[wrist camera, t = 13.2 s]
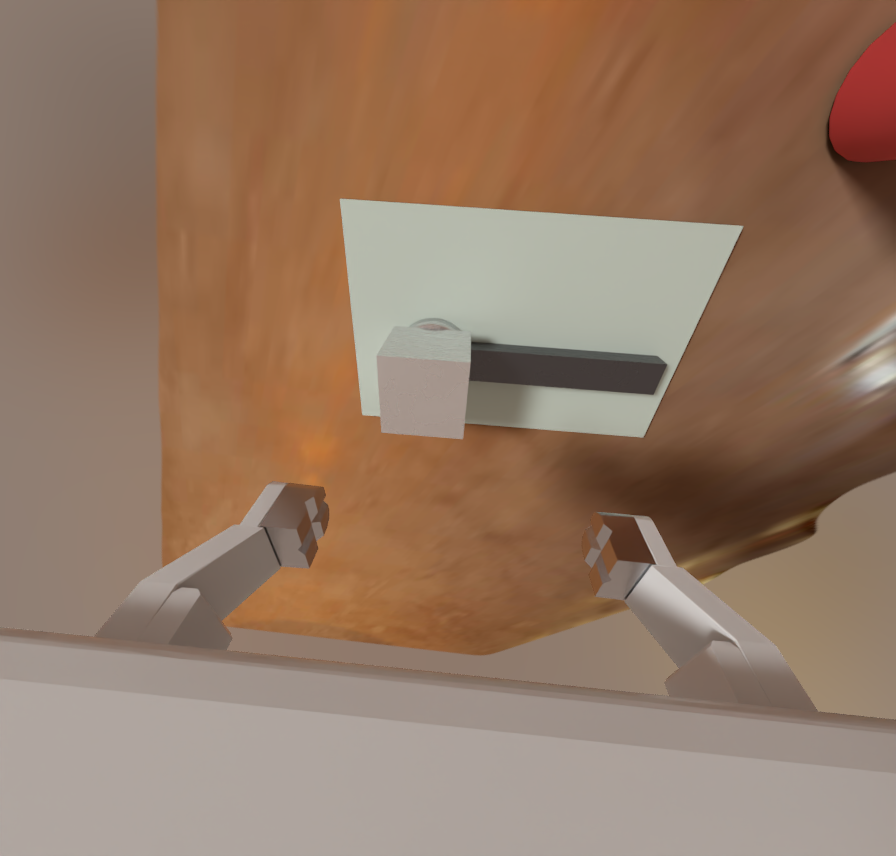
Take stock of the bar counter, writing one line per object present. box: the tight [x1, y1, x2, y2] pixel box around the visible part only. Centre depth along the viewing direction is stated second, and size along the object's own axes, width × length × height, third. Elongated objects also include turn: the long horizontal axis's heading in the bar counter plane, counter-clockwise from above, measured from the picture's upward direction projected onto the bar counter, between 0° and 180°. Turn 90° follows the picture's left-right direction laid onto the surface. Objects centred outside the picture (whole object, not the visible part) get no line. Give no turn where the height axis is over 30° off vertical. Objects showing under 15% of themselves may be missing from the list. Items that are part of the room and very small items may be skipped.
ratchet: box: [409, 318, 667, 395], centre depth 28 cm, size 6×22×5 cm, turn 87°
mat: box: [340, 199, 743, 437], centre depth 29 cm, size 18×28×1 cm, turn 87°
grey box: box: [376, 326, 471, 439], centre depth 26 cm, size 6×6×6 cm
